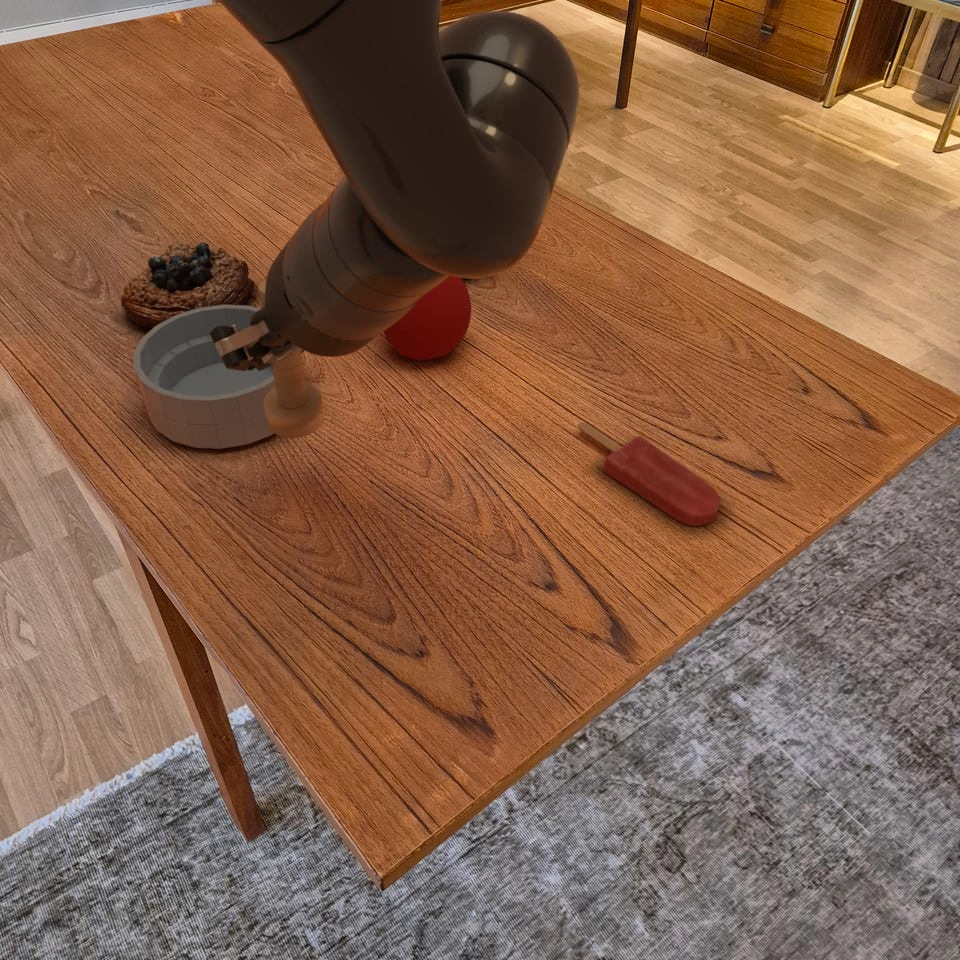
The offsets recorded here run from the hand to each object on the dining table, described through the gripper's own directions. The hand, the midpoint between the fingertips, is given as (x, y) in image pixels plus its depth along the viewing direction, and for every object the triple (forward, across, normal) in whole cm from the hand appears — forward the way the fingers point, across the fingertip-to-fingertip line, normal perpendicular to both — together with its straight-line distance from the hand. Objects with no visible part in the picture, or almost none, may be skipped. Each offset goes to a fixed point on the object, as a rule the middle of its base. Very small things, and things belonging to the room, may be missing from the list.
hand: (272, 350), depth 66 cm
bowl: (+18, 0, 0) cm, 18 cm away
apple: (+15, -20, +3) cm, 25 cm away
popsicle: (-3, -24, +22) cm, 33 cm away
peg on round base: (+2, 0, +5) cm, 6 cm away
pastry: (+30, -5, -11) cm, 32 cm away
